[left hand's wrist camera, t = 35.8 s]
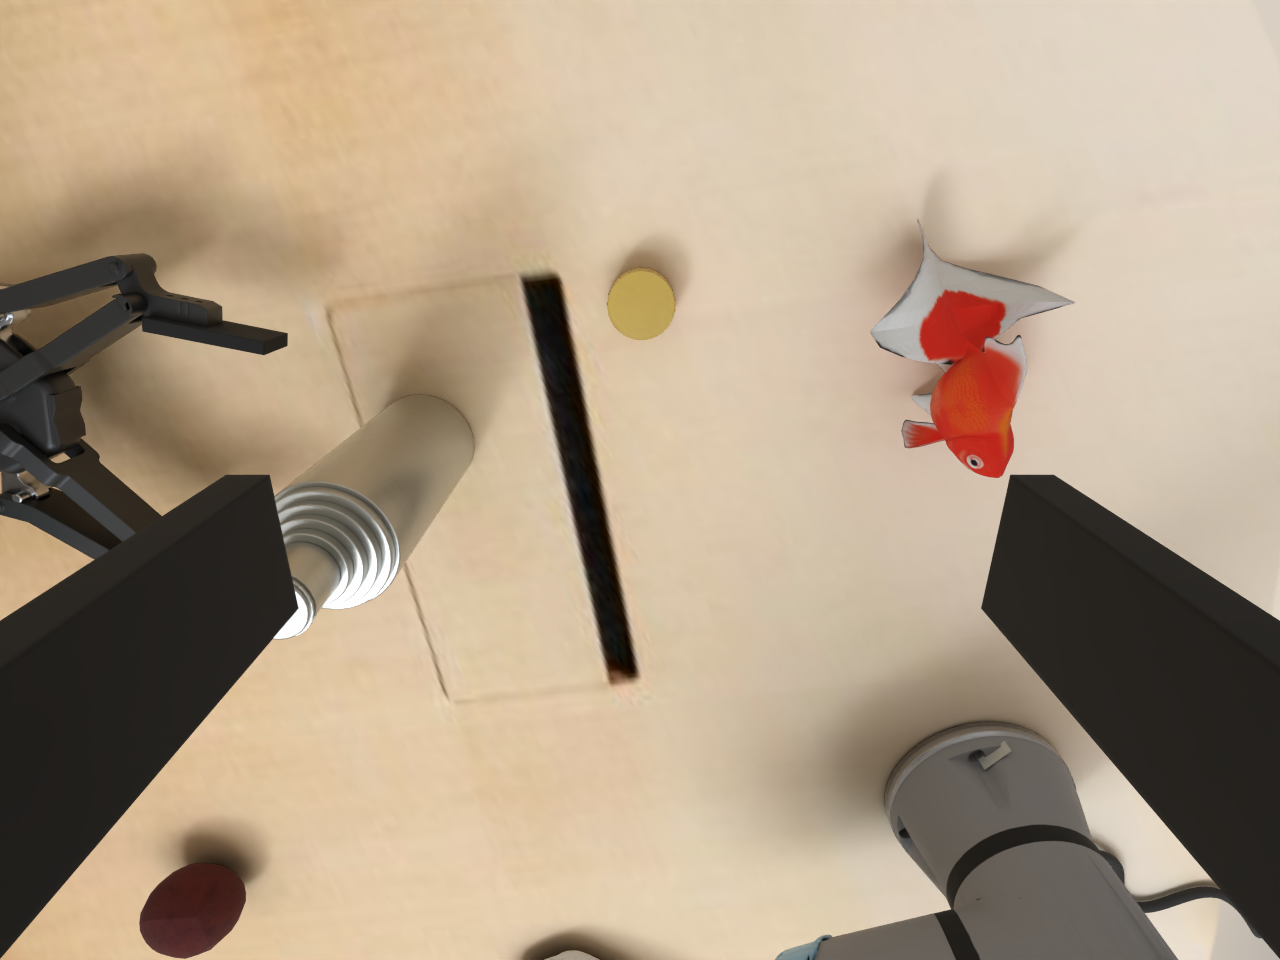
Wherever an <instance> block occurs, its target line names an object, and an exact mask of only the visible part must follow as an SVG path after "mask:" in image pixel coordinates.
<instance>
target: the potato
mask: <svg viewBox="0 0 1280 960" xmlns="http://www.w3.org/2000/svg"><path fill="white" fill-rule="evenodd" d="M245 901H246V891H245V886H244V884H243V882H242V880H241V879H240V877H239V876H238V875H237V873H235V872H234V871H232V870H230V869H229V868H227V867H225V866H223V865H217V864H209V863H196V864H190V865H188V866H185V867H183V868H181V869H179V870H177V871H175V872H173V873H172V874H170V875H169V876H168V877H167V878H166V879H164V880H163V881H162V882H161V883H160V884H159V885H158V886H157V887H156V888H155V889H154V890H153V891H152V893H151V894H150V896H149V898H148V900H147V902H146V904H145V906H144V908H143V910H142V912H141V915H140V932H141V934H142V936H143V938H144V940H145V941H146V943H147V944H148V945H149V946H150V947H151V948H152V949H153V950H155V951H156V952H158V953H160V954H163V955H167V956H171V957H175V958H184V959H186V958H189V957H192V956H195V955H198V954H201V953H203V952H206V951H209V950H211V949H212V948H213V947H214V946H215V945H216V944H217V943H218V942H219V941H221V940H222V939H223V938H224V937H225V936H226V935H227V934H228V933H229V932H230V931H231V930H232V929H233V927H234V926H235V924H236V923H237V921H238V920H239V917H240V915H241V912H242V909H243V907H244V904H245Z"/></svg>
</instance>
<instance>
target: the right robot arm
mask: <svg viewBox="0 0 1280 960" xmlns="http://www.w3.org/2000/svg"><path fill="white" fill-rule="evenodd" d="M155 271H156V263H155V261H154V259H153V258H152V257H151V256H149V255H147V254H144V253H143V254H130V255H119V256H110V257H106V258H103V259H99V260H96V261H93V262H89V263H86V264H83V265H80V266H76V267H73V268H70V269H66V270H63V271H60V272H57V273H53V274H50V275H47V276H43V277H40V278H37V279H34V280H30V281H27V282H24V283H20V284H17V285H12V284H0V472H1V475H2V493H1V494H0V515H3V516H7V517H11V518H14V519H18V520H22V521H26V522H29V523H31V524H32V525H34V526H36V527H38V528H39V529H41V530H43V531H45V532H47V533H48V534H50V535H52V536H54V537H56V538H57V539H59V540H61V541H63V542H64V543H66V544H68V545H70V546H72V547H73V548H75V549H77V550H79V551H80V552H82V553H84V554H86V555H88V556H89V557H91V558H93V559H97V558H98V557H100V556H101V555H103V554H105V553H106V552H108V551H109V550H111V549H112V548H114V547H115V546H117V545H118V544H120V543H122V542H123V541H125V540H126V539H128V538H129V537H131V536H132V535H134V534H135V533H137V532H139V531H140V530H142V529H143V528H145V527H146V526H148V525H149V524H151V523H153V522H154V521H156V520H157V519H159V518H160V517H162V516H161V515H160V514H159V513H158V512H156V511H155V510H154V509H153V508H152V507H151V506H149V505H148V504H147V503H146V502H145V501H144V500H143V499H141V498H140V497H139V496H138V495H137V494H136V493H134V492H133V491H132V490H131V489H130V488H129V487H128V486H126V485H125V484H124V483H123V482H122V481H121V480H119V479H118V478H117V477H116V476H115V475H114V474H113V473H111V472H110V471H109V470H108V469H107V468H106V467H104V466H103V465H102V464H101V463H100V462H99V458H100V456H99V454H98V453H97V452H96V451H95V450H94V449H93V448H92V447H90V446H89V445H88V444H87V443H86V442H85V441H84V440H82V439H81V437H82V436H84V435H86V432H85V423H84V421H83V418H82V415H81V413H80V407H81V402H82V394H81V387H79V386H75V384H74V382H73V380H72V379H71V377H70V376H69V374H70V373H72V372H73V371H75V370H76V369H78V368H79V367H81V366H83V365H84V364H86V363H87V362H89V361H90V358H91V357H93V356H94V355H96V354H97V353H99V352H100V351H102V350H103V349H105V348H106V347H108V346H110V345H111V344H113V343H114V342H116V341H117V340H119V339H120V338H122V337H123V336H125V335H126V334H128V333H129V332H131V331H133V330H134V329H136V328H137V327H139V326H140V325H142V330H143V331H144V332H149V333H154V334H159V335H164V336H169V337H174V338H179V339H184V340H189V341H195V342H200V343H205V344H210V345H215V346H220V347H225V348H230V349H235V350H241V351H246V352H251V353H256V354H261V355H265V354H268V353H270V352H273V351H276V350H278V349H281V348H283V347H286V346H287V338H288V333H283V332H278V331H273V330H268V329H263V328H258V327H253V326H248V325H243V324H238V323H233V322H228V321H223V320H222V306H220V305H218V304H217V303H215V302H213V301H209V300H204V299H199V298H194V297H189V296H184V295H179V294H174V293H170V292H167V291H165V290H164V289H162V288H161V287H160V286H159V284H158V282H157V281H156V278H155V276H154V273H155ZM117 285H118V287H119V289H120V291H121V294H117V295H114V296H112V297H113V298H116V297H117V298H116V299H114V300H113V301H111V302H110V303H108V304H107V305H105V306H104V307H102V308H101V309H99V310H98V311H96V312H95V313H93V314H92V315H90V316H89V317H87V318H86V319H84V320H83V321H81V322H80V323H78V324H77V325H75V326H74V327H72V328H71V329H69V330H68V331H66V332H65V333H63V334H62V335H60V336H59V337H57V338H56V339H54V340H53V341H51V342H50V343H48V344H47V345H45V346H44V347H42V348H41V349H39V350H37V349H36V348H34V347H33V346H32V345H31V344H29V343H28V342H27V341H26V340H24V339H23V338H22V337H20V336H18V335H16V334H14V333H12V328H13V326H14V325H15V324H16V323H21V322H23V321H25V319H26V316H28V315H30V314H31V309H33V308H39V307H45V306H49V305H53V304H57V303H60V302H63V301H67V300H70V299H73V298H77V297H80V296H83V295H87V294H90V293H93V292H97V291H100V290H103V289H107V288H110V287H113V286H117ZM62 453H65V454H66V455H67V456H69V457H70V458H71V459H69V460H66V461H64V462H62V463H54V462H52V461H51V460H50V459H52V458H54V457H56V456H58V455H60V454H62ZM52 487H57V488H59V489H60V490H61V491H60V490H57V489H54V488H52Z"/></svg>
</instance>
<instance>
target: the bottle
mask: <svg viewBox="0 0 1280 960" xmlns="http://www.w3.org/2000/svg"><path fill="white" fill-rule="evenodd" d="M473 453H474V439H473V434H472V431H471V428H470V426H469V424H468V422H467V421H466V419H465V418H464V416H463V415H462V414H461V413H460V412H459V411H458V410H457V409H456V408H455V407H453V406H452V405H451V404H449V403H448V402H446V401H444V400H442V399H440V398H437V397H434V396H429V395H410V396H406V397H403V398H400V399H398V400H396V401H395V402H393V403H392V404H391V405H389V406H388V407H387V408H385V409H384V410H383V411H382V412H380V413H379V414H378V415H377V416H375V417H374V418H373V419H371V420H370V421H369V422H368V423H366V424H365V425H364V426H363V427H361V428H360V429H359V430H358V431H356V432H355V433H354V434H352V435H351V436H350V437H349V438H347V439H346V440H345V441H344V442H342V443H341V444H340V445H339V446H337V447H336V448H335V449H333V450H332V451H331V452H330V453H328V454H327V455H326V456H325V457H323V458H322V459H321V460H319V461H318V462H317V463H316V464H314V465H313V466H312V467H311V468H309V469H308V470H307V471H306V472H304V473H303V474H302V475H300V476H299V477H298V478H297V479H295V480H294V481H293V482H292V483H290V484H289V485H288V486H287V487H285V488H284V489H283V490H281V491H280V492H279V493H278V494H276V495H275V496H274V498H275V502H276V507H277V511H278V516H279V521H280V525H281V530H282V534H283V539H284V543H285V548H286V553H287V557H288V562H289V566H290V571H291V575H292V580H293V585H294V589H295V594H296V598H297V603H298V607H299V609H298V610H297V611H296V612H295V613H294V614H293V616H292V617H291V618H290V619H289V620H288V621H287V623H286V624H285V625H284V626H283V627H282V629H281V630H280V631H279V632H278V633H277V634H276V636H275V637H274V638H273V639H288V638H291V637H294V636H295V637H296V636H297V635H299V634H301V633H303V632H304V631H305V630H306V629H307V628H308V627H309V626H310V625H311V623H312V622H313V621H314V619H315V617H316V615H317V612H318V611H319V610H320V609H321V608H324V609H346V608H351V607H355V606H358V605H361V604H363V603H366V602H368V601H370V600H372V599H374V598H376V597H377V596H379V595H380V594H382V593H383V592H384V591H385V590H386V589H387V588H388V587H389V586H390V585H391V583H392V582H393V580H394V579H395V577H396V576H397V574H398V573H399V571H400V570H401V568H402V567H403V565H404V564H405V562H406V561H407V559H408V558H409V556H410V555H411V553H412V551H413V550H414V548H415V547H416V545H417V544H418V542H419V541H420V539H421V538H422V536H423V535H424V533H425V532H426V530H427V529H428V527H429V526H430V524H431V523H432V521H433V520H434V518H435V517H436V515H437V514H438V512H439V511H440V509H441V508H442V506H443V505H444V503H445V502H446V500H447V499H448V497H449V496H450V494H451V493H452V491H453V490H454V488H455V487H456V485H457V484H458V482H459V480H460V479H461V477H462V476H463V474H464V473H465V471H466V470H467V468H468V467H469V465H470V463H471V461H472V458H473Z"/></svg>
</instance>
